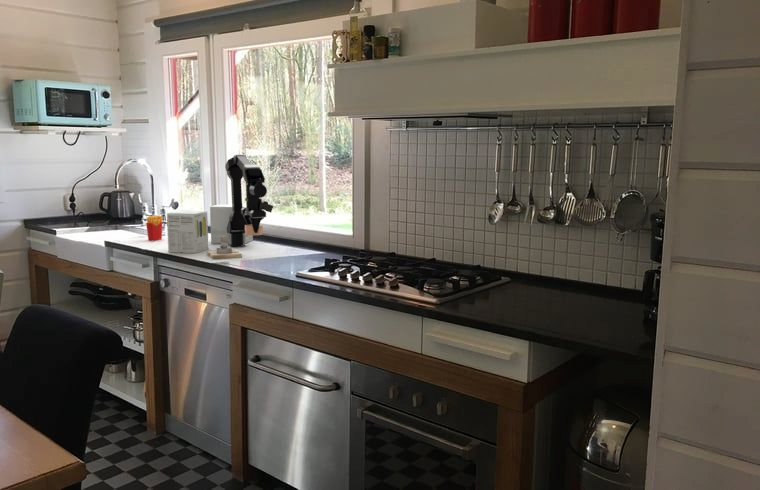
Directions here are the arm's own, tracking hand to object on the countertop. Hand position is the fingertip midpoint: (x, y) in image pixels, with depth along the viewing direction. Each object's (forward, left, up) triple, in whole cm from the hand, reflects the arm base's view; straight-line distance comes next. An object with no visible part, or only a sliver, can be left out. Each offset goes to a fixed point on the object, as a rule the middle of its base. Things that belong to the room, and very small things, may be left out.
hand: (253, 231), depth 277 cm
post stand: (0, -13, -10) cm, 16 cm away
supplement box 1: (-21, -24, -10) cm, 33 cm away
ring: (0, 0, -1) cm, 1 cm away
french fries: (-61, -33, -10) cm, 70 cm away
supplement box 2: (-39, 0, -10) cm, 40 cm away
